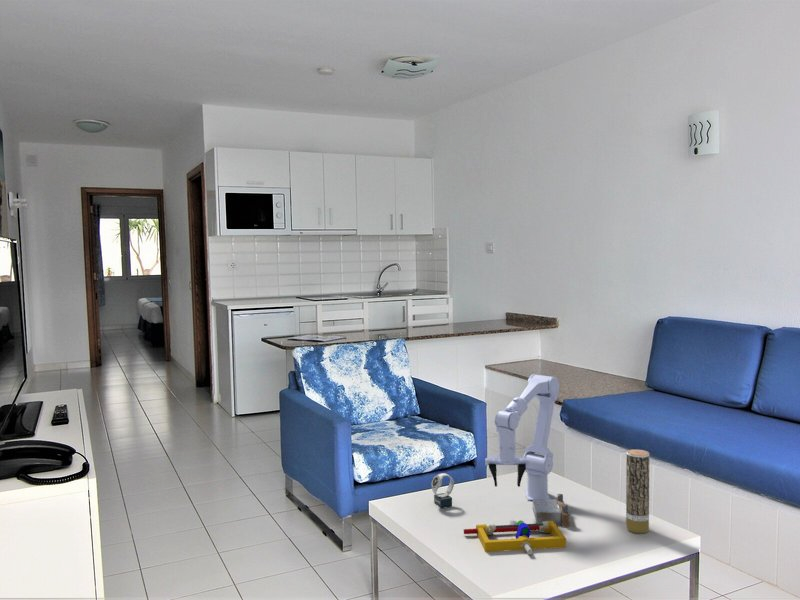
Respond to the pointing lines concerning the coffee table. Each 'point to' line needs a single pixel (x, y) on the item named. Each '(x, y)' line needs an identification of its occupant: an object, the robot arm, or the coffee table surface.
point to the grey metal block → (546, 510)
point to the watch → (442, 498)
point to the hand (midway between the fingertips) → (507, 485)
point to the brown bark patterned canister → (637, 491)
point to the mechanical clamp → (519, 536)
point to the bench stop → (563, 511)
